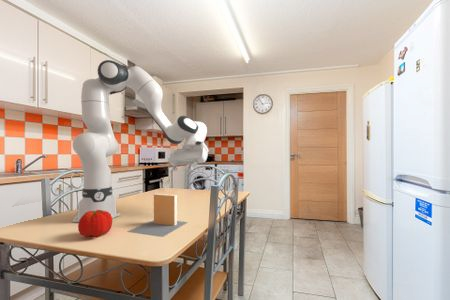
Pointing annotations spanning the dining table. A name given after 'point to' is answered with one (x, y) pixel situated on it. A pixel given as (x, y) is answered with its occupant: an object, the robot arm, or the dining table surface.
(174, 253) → the dining table surface
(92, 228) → the tomato
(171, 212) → the tile
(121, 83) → the robot arm
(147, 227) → the mat
